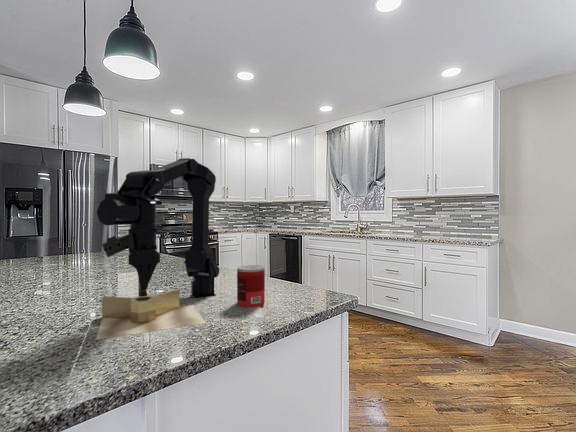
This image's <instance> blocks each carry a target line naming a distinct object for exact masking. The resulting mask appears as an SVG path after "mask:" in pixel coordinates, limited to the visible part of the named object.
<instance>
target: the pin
mask: <svg viewBox="0 0 576 432" xmlns="http://www.w3.org/2000/svg"><path fill="white" fill-rule="evenodd" d="M137 279H138V290H137V291H138V293H137V294H138V296H137V297H139V296H140V297H143V296H150V294H149V286H148V287H147V289H146V290H141V287H140V282H139V278H137Z"/></svg>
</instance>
